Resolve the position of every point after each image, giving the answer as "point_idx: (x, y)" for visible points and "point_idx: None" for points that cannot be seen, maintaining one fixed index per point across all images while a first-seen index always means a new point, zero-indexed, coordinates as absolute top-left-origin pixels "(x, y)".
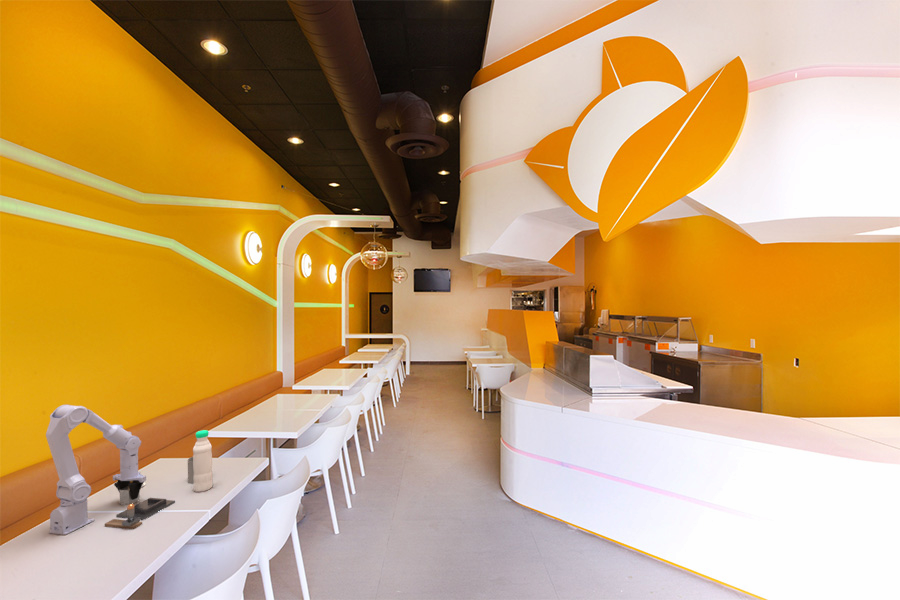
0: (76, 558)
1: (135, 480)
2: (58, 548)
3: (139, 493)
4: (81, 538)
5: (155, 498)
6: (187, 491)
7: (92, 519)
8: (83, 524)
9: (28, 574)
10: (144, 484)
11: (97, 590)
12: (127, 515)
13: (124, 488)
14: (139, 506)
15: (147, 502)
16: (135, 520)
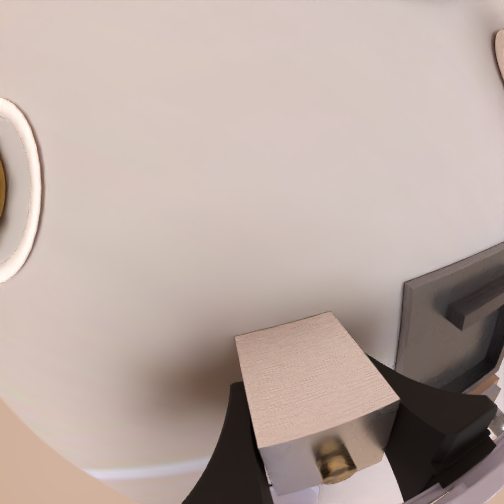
0: None
1: (455, 483)
2: (366, 497)
3: (356, 344)
4: (383, 478)
5: (493, 303)
6: (494, 103)
7: None
8: (316, 491)
9: (392, 501)
10: (10, 111)
11: None
12: (488, 426)
13: (294, 480)
14: (433, 360)
15: (444, 319)
16: (494, 398)
